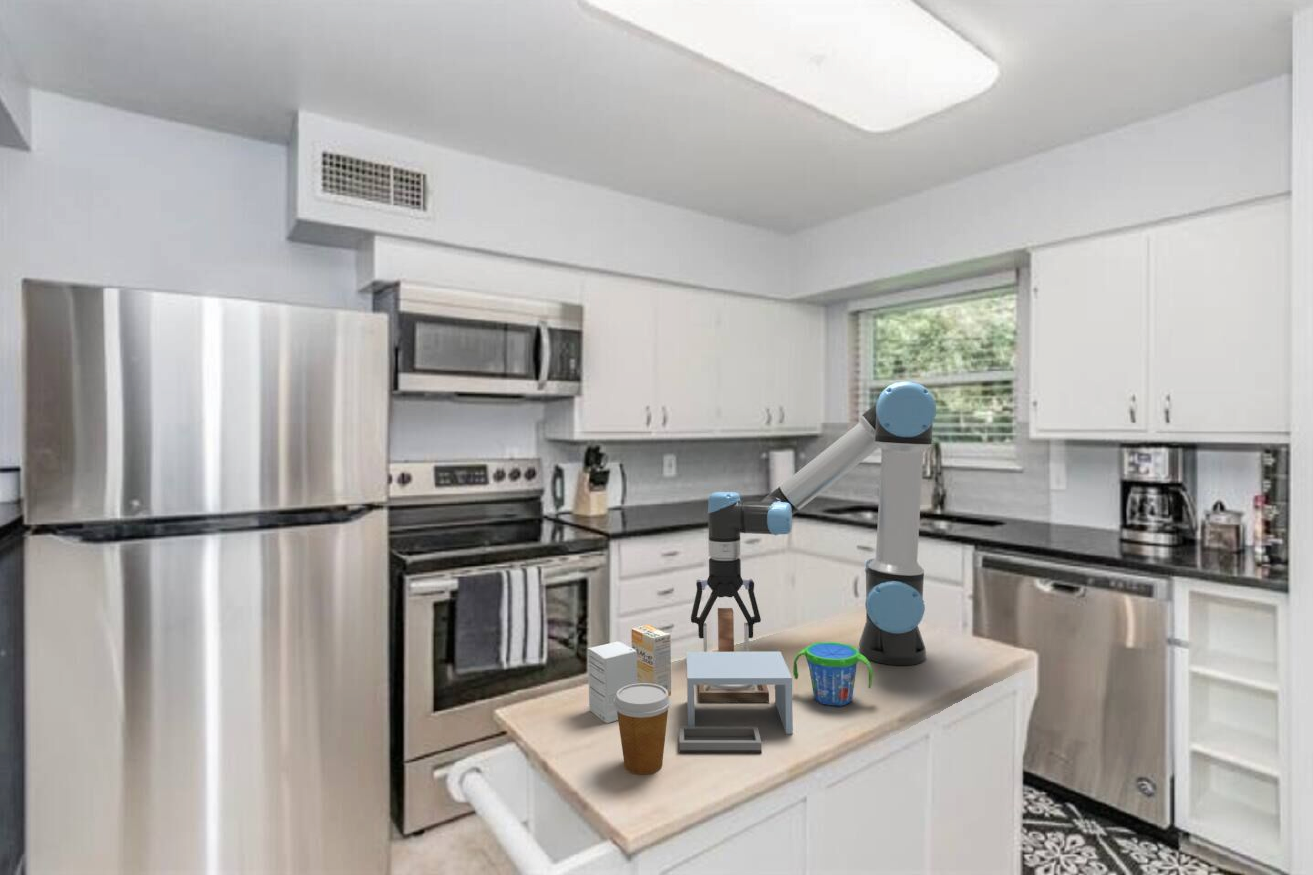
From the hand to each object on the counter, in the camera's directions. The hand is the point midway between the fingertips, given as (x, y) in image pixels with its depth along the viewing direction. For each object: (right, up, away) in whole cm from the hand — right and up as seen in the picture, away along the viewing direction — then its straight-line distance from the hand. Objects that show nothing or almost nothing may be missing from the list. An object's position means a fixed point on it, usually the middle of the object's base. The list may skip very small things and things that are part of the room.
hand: (725, 651), depth 159 cm
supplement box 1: (-25, -3, -28) cm, 38 cm away
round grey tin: (-1, -3, -18) cm, 18 cm away
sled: (0, -2, -11) cm, 12 cm away
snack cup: (+19, -2, -24) cm, 31 cm away
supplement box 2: (-18, -3, -18) cm, 26 cm away
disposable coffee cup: (-19, -4, -48) cm, 52 cm away
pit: (-5, -3, -42) cm, 42 cm away
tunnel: (-1, -3, -31) cm, 31 cm away
